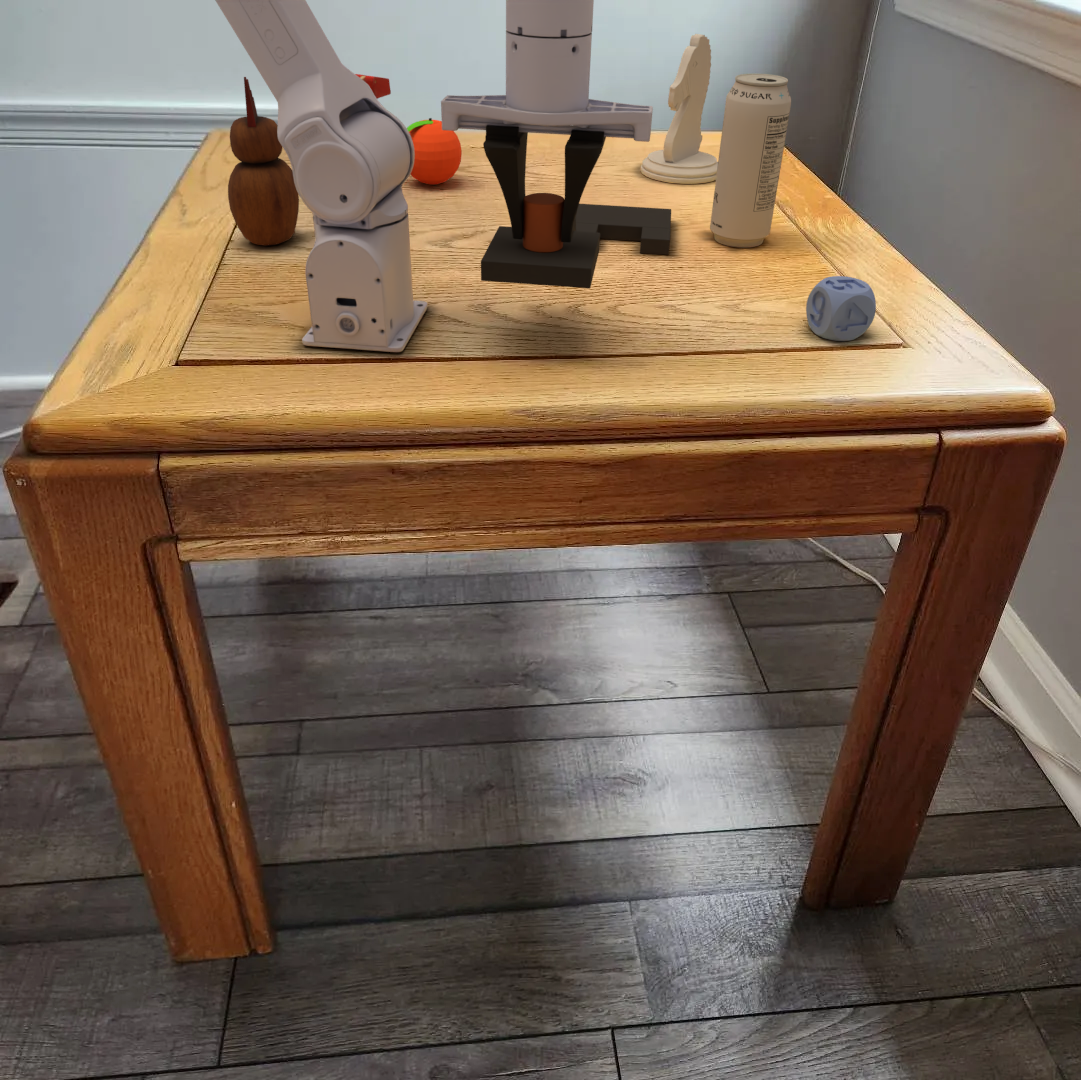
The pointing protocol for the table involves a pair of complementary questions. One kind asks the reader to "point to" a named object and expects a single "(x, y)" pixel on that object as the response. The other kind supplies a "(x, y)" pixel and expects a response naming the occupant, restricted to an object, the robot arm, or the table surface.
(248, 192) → the wooden figurine
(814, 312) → the decorative dice
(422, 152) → the clementine
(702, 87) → the chess piece
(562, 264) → the pad
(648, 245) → the base pad
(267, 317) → the table surface
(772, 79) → the energy drink can
